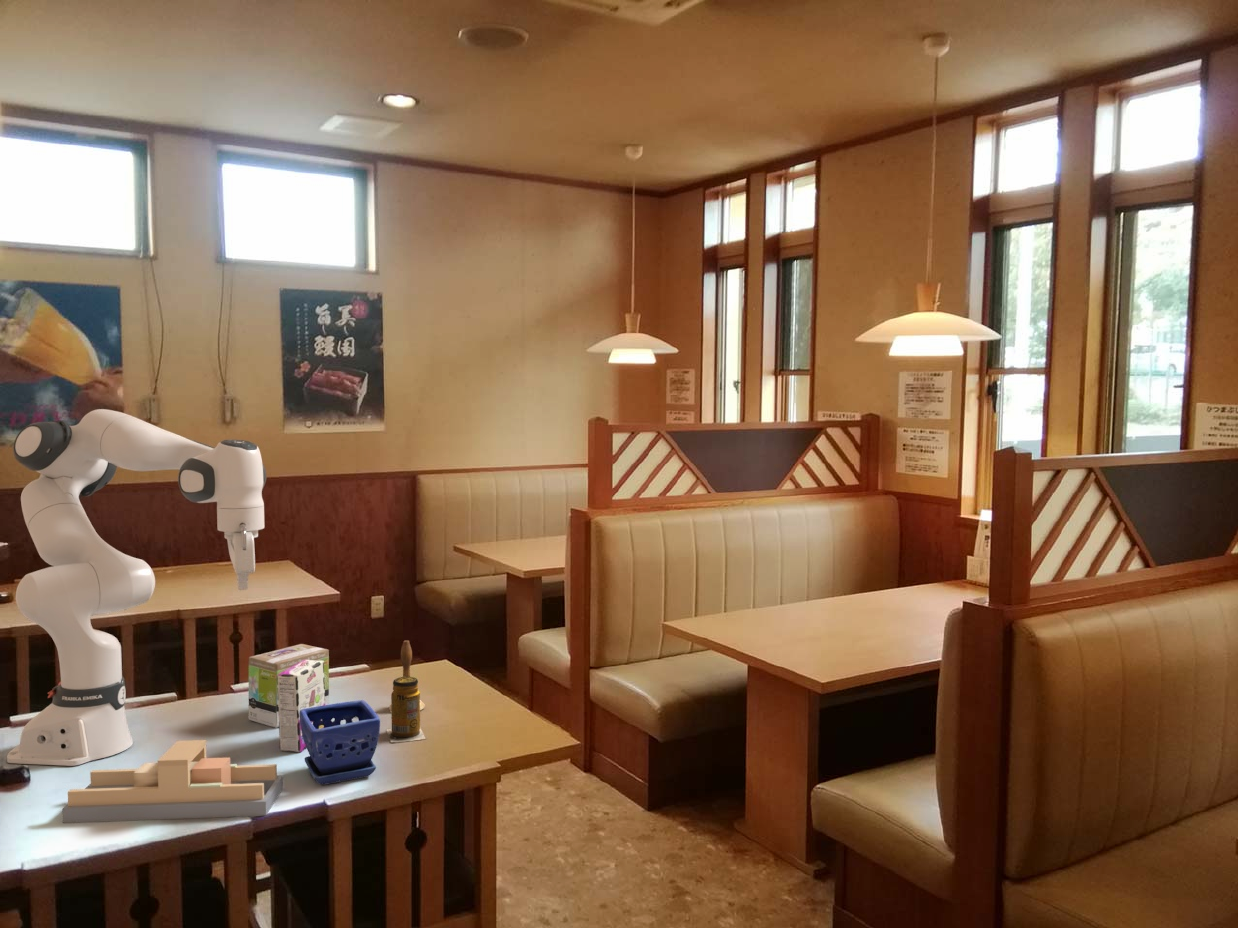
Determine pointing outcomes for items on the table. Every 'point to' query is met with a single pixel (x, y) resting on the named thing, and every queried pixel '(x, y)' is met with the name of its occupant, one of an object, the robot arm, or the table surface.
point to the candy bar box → (298, 700)
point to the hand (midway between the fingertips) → (242, 588)
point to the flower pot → (340, 741)
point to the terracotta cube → (212, 771)
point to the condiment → (405, 711)
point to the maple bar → (151, 775)
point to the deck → (174, 791)
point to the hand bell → (407, 664)
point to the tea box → (265, 679)
